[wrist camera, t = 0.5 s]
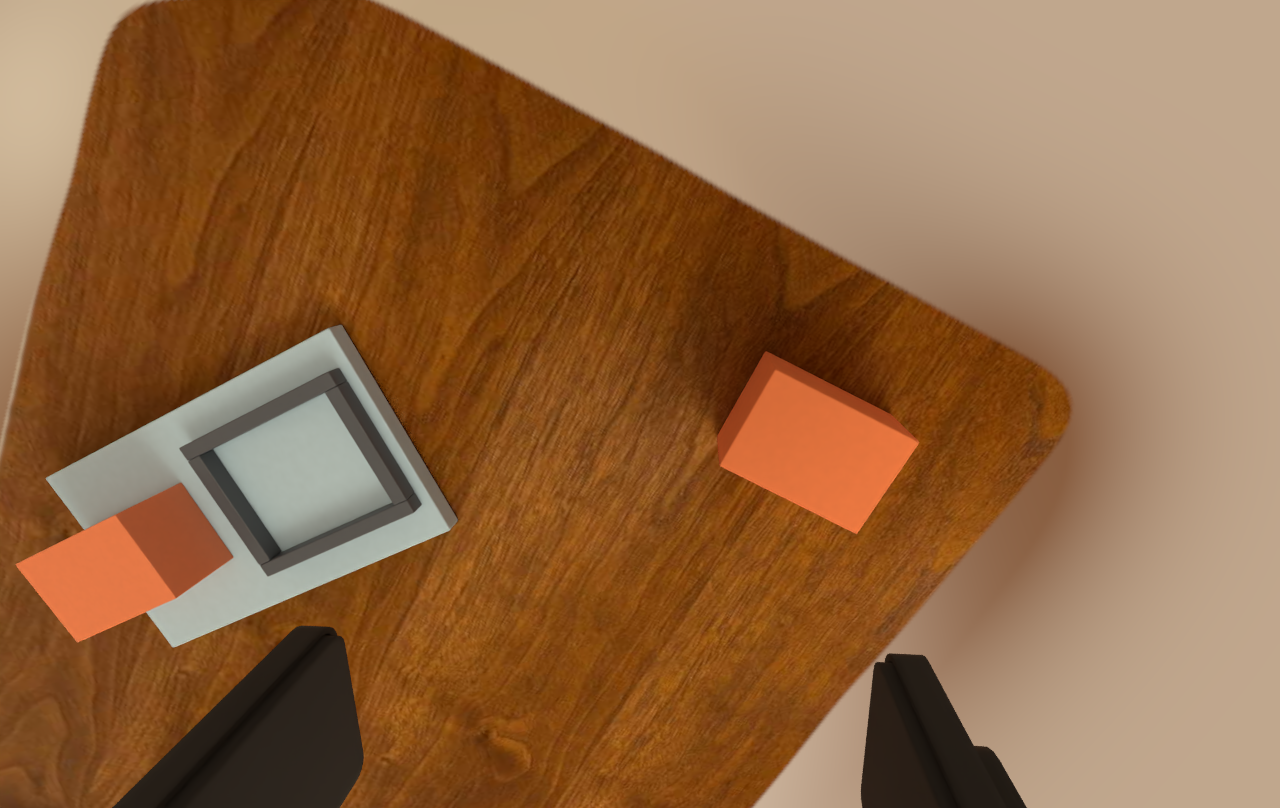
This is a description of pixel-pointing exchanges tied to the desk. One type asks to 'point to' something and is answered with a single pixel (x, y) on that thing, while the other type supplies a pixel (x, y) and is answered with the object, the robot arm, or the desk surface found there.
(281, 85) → the desk surface
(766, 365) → the orange rectangular block
